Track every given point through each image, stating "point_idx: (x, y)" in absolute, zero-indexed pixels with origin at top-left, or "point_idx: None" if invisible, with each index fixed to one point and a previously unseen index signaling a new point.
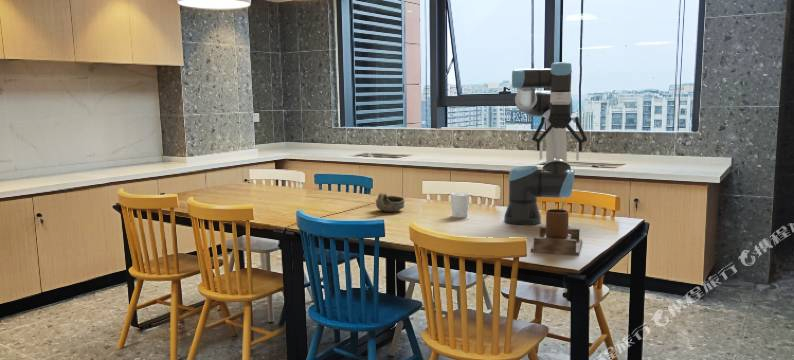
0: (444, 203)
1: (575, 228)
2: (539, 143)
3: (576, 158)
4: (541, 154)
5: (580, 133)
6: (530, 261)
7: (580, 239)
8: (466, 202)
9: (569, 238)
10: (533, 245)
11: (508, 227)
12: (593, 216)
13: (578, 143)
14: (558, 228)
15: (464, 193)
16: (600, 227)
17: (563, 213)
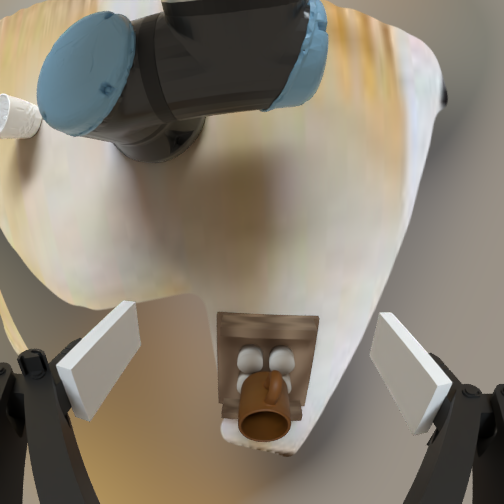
0: (16, 26)
1: (307, 330)
2: (71, 399)
3: (374, 362)
4: (127, 364)
5: (473, 487)
6: (228, 438)
7: (315, 318)
8: (18, 122)
9: (290, 389)
10: (219, 382)
11: (132, 200)
12: (341, 20)
13: (425, 431)
14: (268, 418)
15: (4, 95)
16: (368, 143)
17: (279, 438)
